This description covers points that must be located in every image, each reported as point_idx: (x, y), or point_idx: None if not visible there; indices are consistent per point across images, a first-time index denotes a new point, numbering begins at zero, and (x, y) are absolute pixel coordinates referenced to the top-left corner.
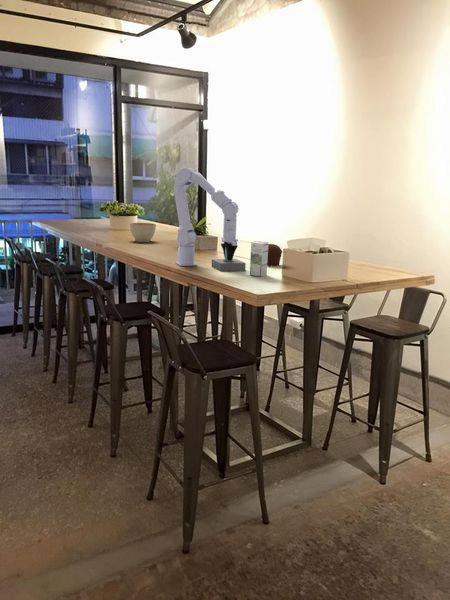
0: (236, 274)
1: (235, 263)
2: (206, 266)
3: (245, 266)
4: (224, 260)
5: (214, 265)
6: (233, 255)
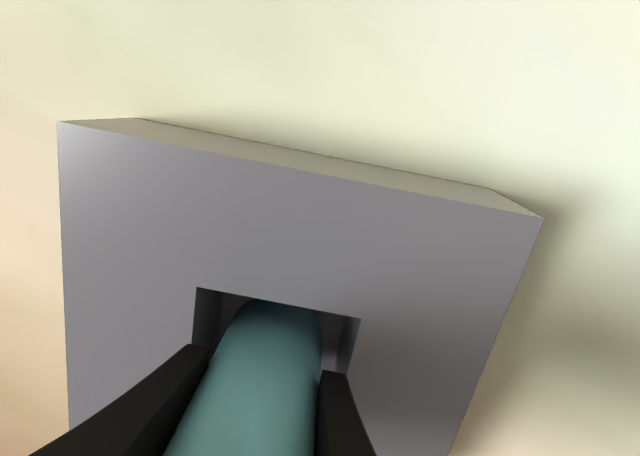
0: (626, 409)
1: (476, 375)
2: None
3: (515, 203)
4: None
5: None
6: (368, 437)
